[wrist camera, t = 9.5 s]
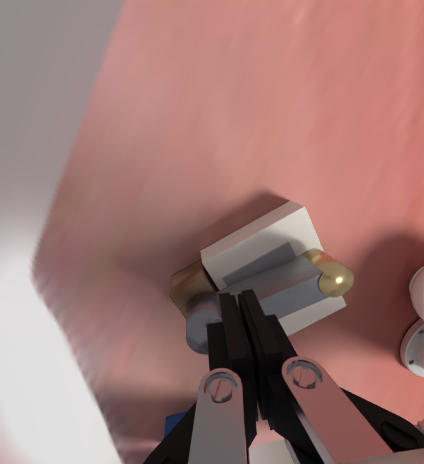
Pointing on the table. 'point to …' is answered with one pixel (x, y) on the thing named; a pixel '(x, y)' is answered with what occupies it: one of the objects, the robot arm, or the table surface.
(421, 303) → the lidded jar
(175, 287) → the jamb block
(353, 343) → the table surface
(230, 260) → the door panel
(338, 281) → the latch bar
